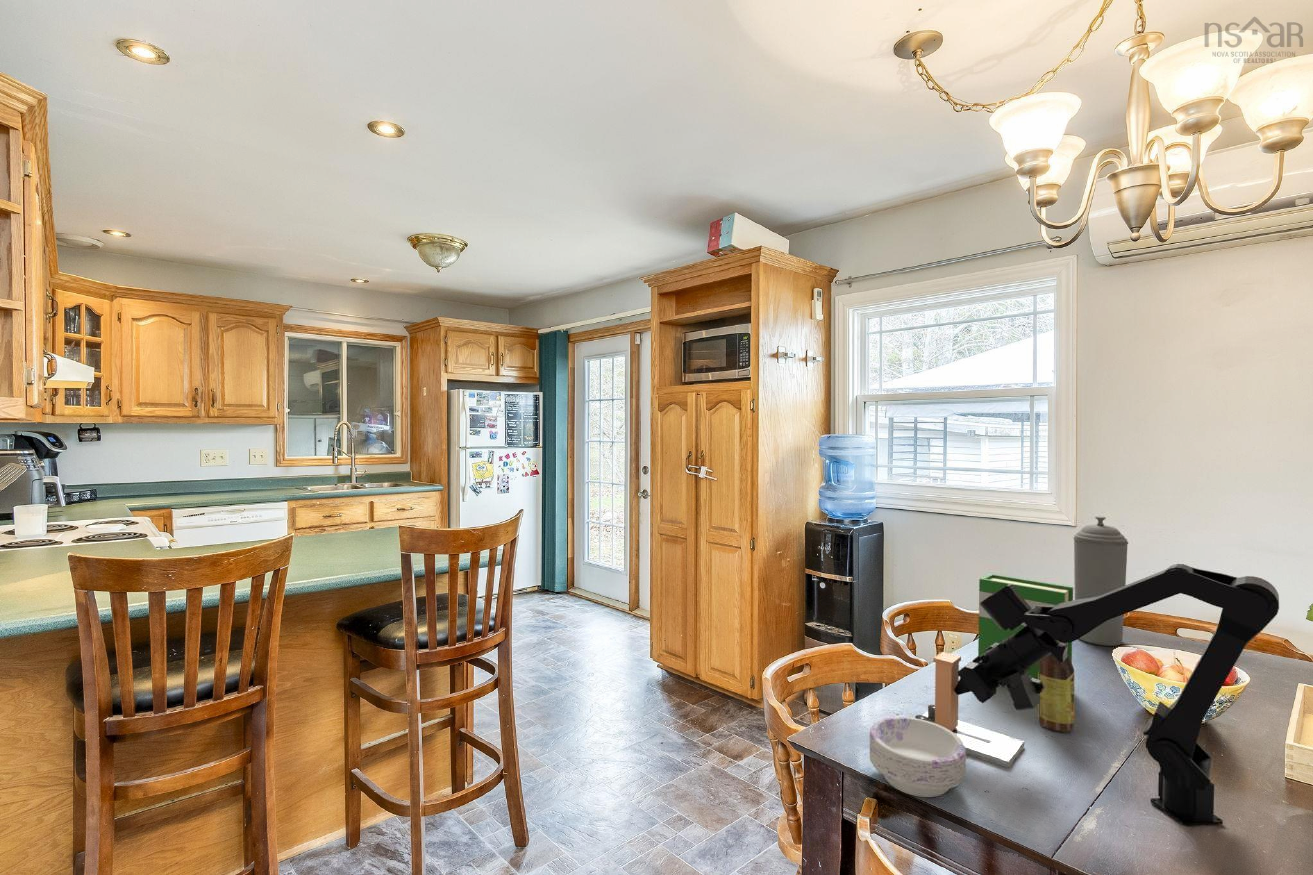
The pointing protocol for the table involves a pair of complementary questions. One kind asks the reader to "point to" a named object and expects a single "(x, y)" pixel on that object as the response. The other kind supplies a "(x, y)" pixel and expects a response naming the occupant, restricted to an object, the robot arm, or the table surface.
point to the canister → (1100, 574)
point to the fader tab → (946, 690)
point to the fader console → (983, 741)
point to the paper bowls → (917, 755)
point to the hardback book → (1031, 593)
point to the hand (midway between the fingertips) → (956, 692)
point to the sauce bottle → (1056, 694)
